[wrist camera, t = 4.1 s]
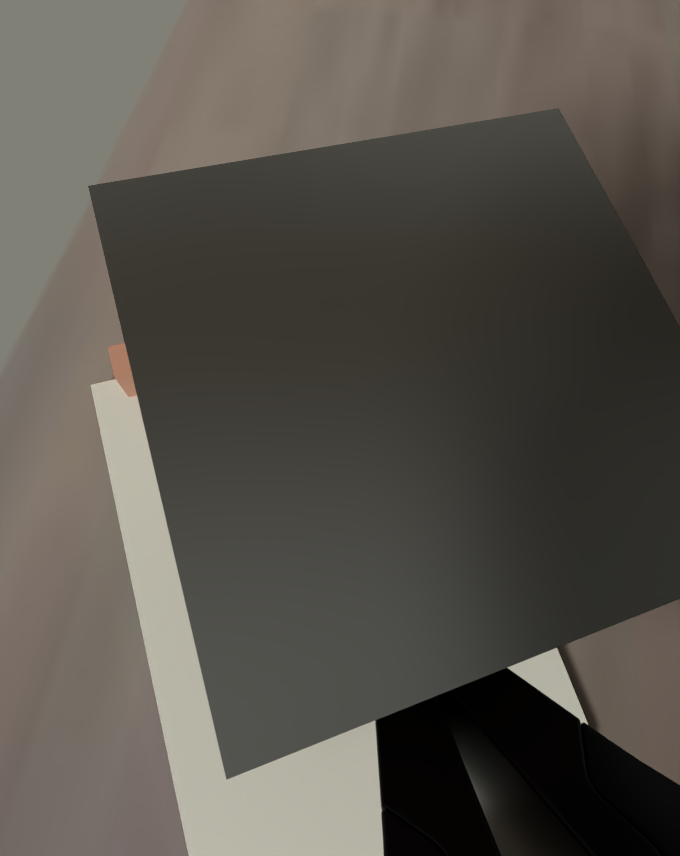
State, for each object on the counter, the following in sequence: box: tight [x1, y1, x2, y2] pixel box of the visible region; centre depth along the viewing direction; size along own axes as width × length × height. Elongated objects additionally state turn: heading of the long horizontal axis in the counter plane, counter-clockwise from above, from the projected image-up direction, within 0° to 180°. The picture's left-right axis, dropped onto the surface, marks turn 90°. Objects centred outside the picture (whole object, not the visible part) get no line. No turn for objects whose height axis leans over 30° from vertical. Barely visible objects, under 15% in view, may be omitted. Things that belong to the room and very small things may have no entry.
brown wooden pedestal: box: [88, 108, 680, 780], centre depth 10 cm, size 6×6×11 cm
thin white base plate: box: [91, 343, 588, 856], centre depth 15 cm, size 15×11×2 cm
